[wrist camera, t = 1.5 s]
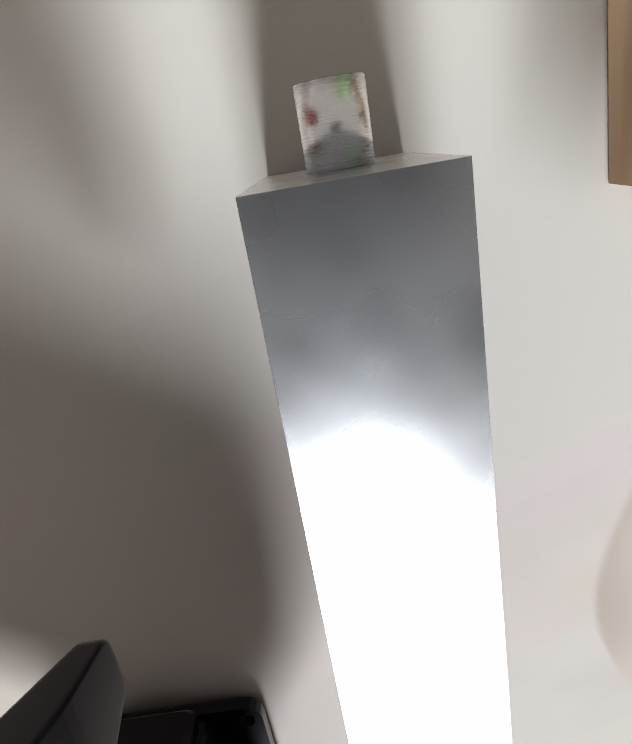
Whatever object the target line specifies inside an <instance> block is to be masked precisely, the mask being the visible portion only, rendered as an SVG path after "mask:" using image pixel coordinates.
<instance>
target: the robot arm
mask: <svg viewBox="0 0 632 744" xmlns="http://www.w3.org/2000/svg"><path fill="white" fill-rule="evenodd" d="M124 699H125V683H124V678H123V676H122V673H121V670H120V668H119V665H118V663H117V660H116V658H115V655H114V653H113V650H112V648H111V646H110V644H109V643H108V642H107V641H106V640H95V641H88V642H82V643H79V644H78V645H76V646H75V647H74V648H73V649H72V650H71V651H70V652H69V653H67V654H66V655H65V656H64V657H63V658H62V659H61V660H60V661H59V662H58V663H57V664H56V665H55V666H54V667H53V668H52V669H51V670H50V671H49V672H48V673H47V674H46V675H44V676H43V677H42V678H41V679H40V680H39V681H38V682H37V683H36V684H35V685H34V686H33V687H32V688H31V689H30V690H29V691H28V692H27V693H26V694H25V695H24V696H23V697H22V698H20V699H19V700H18V701H17V702H16V703H15V704H14V705H13V706H12V707H11V708H10V709H9V710H8V711H7V712H6V713H5V714H4V715H3V716H2V717H1V718H0V744H275V743H274V740H273V736H272V733H271V729H270V726H269V722H268V719H267V716H266V712H265V709H264V706H263V704H262V703H261V702H260V701H259V700H257V699H255V698H252V697H242V698H235V699H228V700H221V701H214V702H207V703H200V704H193V705H186V706H179V707H172V708H165V709H158V710H151V711H144V712H137V713H130V714H123V715H122V711H123V705H124ZM245 714H247V715H245Z"/></svg>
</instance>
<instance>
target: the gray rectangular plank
mask: <svg viewBox="0 0 632 744" xmlns="http://www.w3.org/2000/svg"><path fill="white" fill-rule="evenodd" d="M293 93H294V99H295V105H296V111H297V117H298V123H299V129H300V135H301V141H302V147H303V153H304V159H305V166H306V170H302V171H296V172H291V173H285V174H279V175H274V176H268V177H266V178H265V179H263V180H262V181H260V182H259V183H257V184H255V185H254V186H252V187H251V188H249V189H248V190H246V191H245V192H243V193H242V194H240V195H238V196H237V197H236V202H237V207H238V212H239V217H240V221H241V226H242V231H243V236H244V241H245V245H246V250H247V255H248V260H249V265H250V269H251V274H252V279H253V284H254V289H255V293H256V298H257V303H258V308H259V313H260V318H261V322H262V327H263V332H264V337H265V342H266V346H267V351H268V356H269V361H270V366H271V370H272V375H273V380H274V385H275V390H276V394H277V399H278V404H279V409H280V414H281V418H282V423H283V428H284V433H285V438H286V442H287V447H288V452H289V457H290V462H291V466H292V471H293V476H294V481H295V486H296V491H297V495H298V500H299V505H300V510H301V515H302V519H303V524H304V529H305V534H306V539H307V543H308V548H309V553H310V558H311V563H312V567H313V572H314V577H315V582H316V587H317V591H318V596H319V601H320V606H321V611H322V615H323V620H324V625H325V630H326V635H327V639H328V644H329V649H330V654H331V659H332V664H333V668H334V673H335V678H336V683H337V688H338V692H339V697H340V702H341V707H342V712H343V716H344V721H345V726H346V731H347V736H348V740H349V744H512V732H511V718H510V703H509V689H508V674H507V660H506V645H505V631H504V617H503V602H502V588H501V573H500V559H499V544H498V530H497V515H496V501H495V486H494V472H493V457H492V443H491V429H490V414H489V400H488V385H487V371H486V356H485V342H484V327H483V313H482V298H481V284H480V269H479V255H478V241H477V226H476V212H475V197H474V183H473V168H472V156H465V155H445V154H424V153H398V154H392V155H386V156H381V157H375V154H374V146H373V138H372V130H371V121H370V113H369V105H368V97H367V89H366V81H365V73H361V72H359V73H347V74H340V75H334V76H328V77H323V78H319V79H314V80H310V81H306V82H303V83H299V84H297V85H294V86H293Z"/></svg>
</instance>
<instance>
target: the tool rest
mask: <svg viewBox="0 0 632 744" xmlns="http://www.w3.org/2000/svg"><path fill="white" fill-rule="evenodd" d="M608 111H609V183H611V184H619V185H628V186H632V0H608Z"/></svg>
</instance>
